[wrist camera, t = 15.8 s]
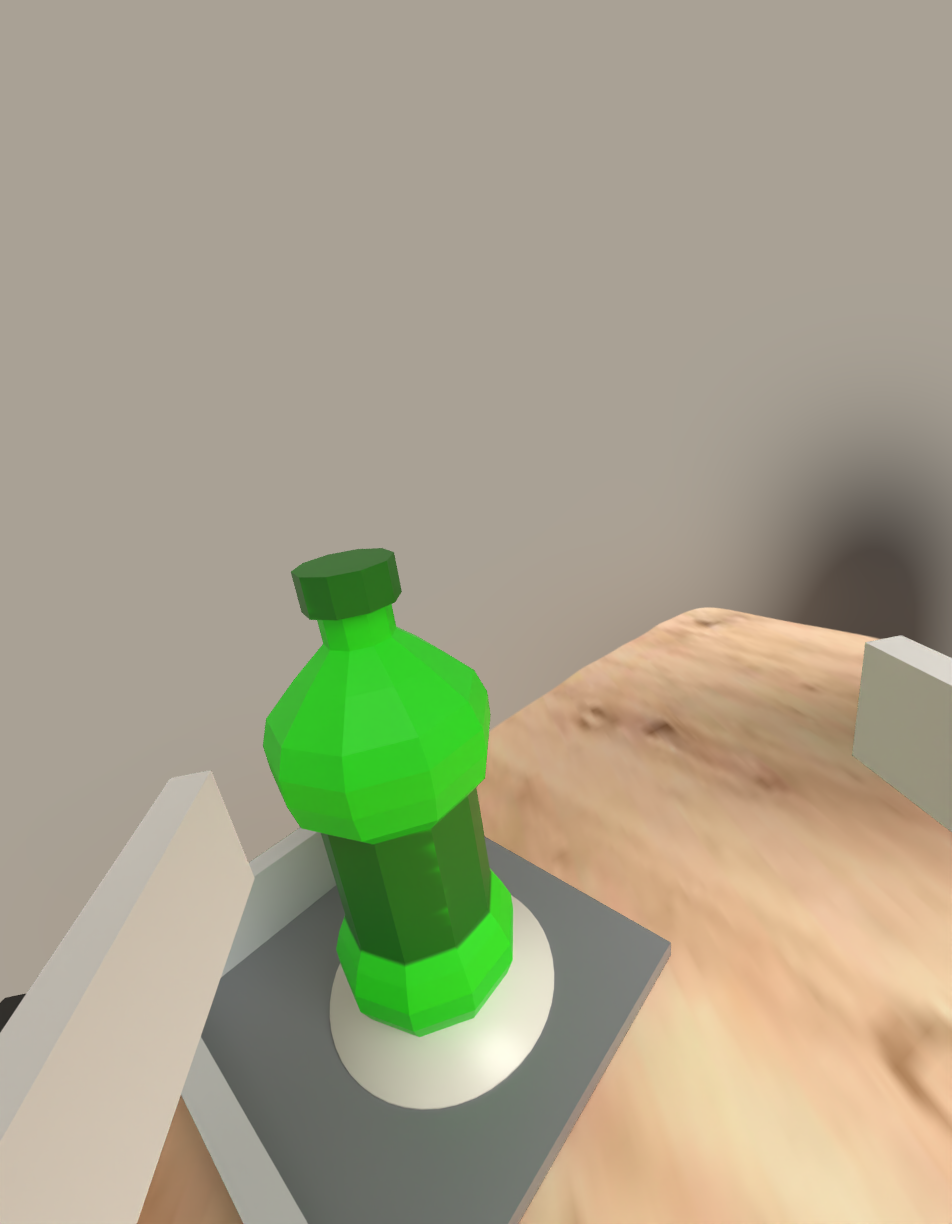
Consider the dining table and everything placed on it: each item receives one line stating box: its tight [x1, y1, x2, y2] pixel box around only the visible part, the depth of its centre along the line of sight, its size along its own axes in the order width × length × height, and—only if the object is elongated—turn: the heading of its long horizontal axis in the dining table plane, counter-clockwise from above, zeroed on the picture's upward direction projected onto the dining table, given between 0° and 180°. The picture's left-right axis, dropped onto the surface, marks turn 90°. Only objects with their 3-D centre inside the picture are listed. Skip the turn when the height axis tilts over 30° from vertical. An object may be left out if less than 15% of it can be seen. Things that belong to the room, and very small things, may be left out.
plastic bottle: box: [263, 548, 513, 1037], centre depth 27 cm, size 10×10×25 cm
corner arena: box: [181, 827, 671, 1224], centre depth 31 cm, size 22×22×6 cm
